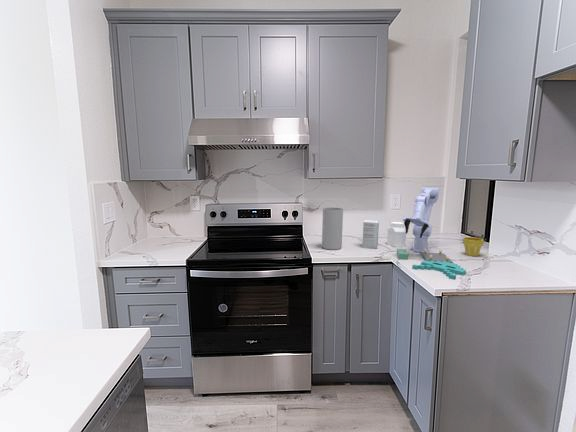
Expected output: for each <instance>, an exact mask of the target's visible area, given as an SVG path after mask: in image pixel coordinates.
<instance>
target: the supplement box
mask: <svg viewBox="0 0 576 432" xmlns="http://www.w3.org/2000/svg"><path fill="white" fill-rule="evenodd" d="M362 223H363V225H362V226H363V227H362V244H361V245H362V248H363V249H375V250H378V246H379V229H380V228H379V226H380V220H373V219H364V221H363V222H362Z"/></svg>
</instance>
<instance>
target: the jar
mask: <svg viewBox="0 0 576 432" xmlns="http://www.w3.org/2000/svg"><path fill="white" fill-rule="evenodd" d="M406 235H407V234H406V229H405V225H404V222H402V221H401V222H400V221H391V222H390V226H389V227H388V229H387V240H386V241H387V242H386V245H387V244H388V246H390V245H392V246H391V247H393V246H394V248H404V247H406V241H407V240H406Z"/></svg>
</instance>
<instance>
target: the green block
mask: <svg viewBox="0 0 576 432" xmlns="http://www.w3.org/2000/svg"><path fill="white" fill-rule="evenodd" d="M396 257H397V259H398V260H406V261H408V260H409V253H408V251H407V249H405V248H397V249H396Z"/></svg>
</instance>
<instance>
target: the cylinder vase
mask: <svg viewBox="0 0 576 432" xmlns="http://www.w3.org/2000/svg"><path fill="white" fill-rule="evenodd" d="M343 220H344V208H342V207H323V208H322V228H321V229H322V234H321V247H322V248H323V249H325V250H330V251H334V250H341V249H342V248H343V246H342V245H343V226H344V225H343V223H344V221H343Z"/></svg>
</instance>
